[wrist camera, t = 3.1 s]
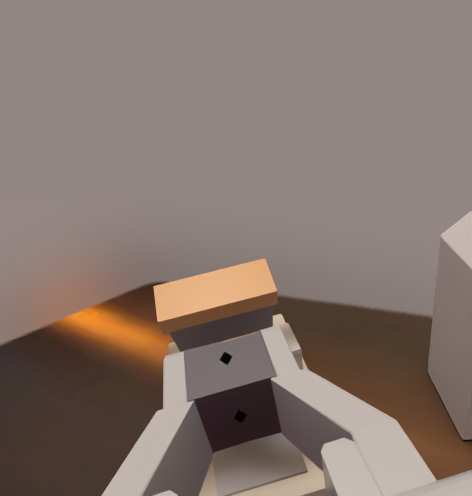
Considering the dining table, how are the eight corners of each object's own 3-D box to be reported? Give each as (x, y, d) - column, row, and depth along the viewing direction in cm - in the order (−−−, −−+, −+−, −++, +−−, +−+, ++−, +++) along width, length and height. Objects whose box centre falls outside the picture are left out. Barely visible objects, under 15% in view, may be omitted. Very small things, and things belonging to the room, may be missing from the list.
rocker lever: (277, 371, 33) (277, 291, 22) (198, 393, 32) (157, 322, 21) (269, 345, 34) (265, 258, 23) (193, 365, 34) (153, 286, 23)
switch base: (360, 488, 27) (358, 429, 24) (177, 545, 26) (149, 491, 23) (282, 323, 45) (275, 276, 41) (172, 352, 43) (155, 307, 40)
